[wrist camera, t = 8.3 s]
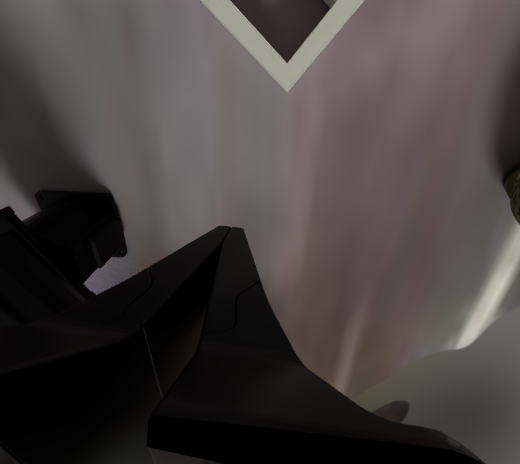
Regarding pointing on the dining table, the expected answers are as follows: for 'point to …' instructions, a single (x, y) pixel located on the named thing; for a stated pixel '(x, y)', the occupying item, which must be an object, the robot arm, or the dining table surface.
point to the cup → (514, 191)
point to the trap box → (285, 74)
